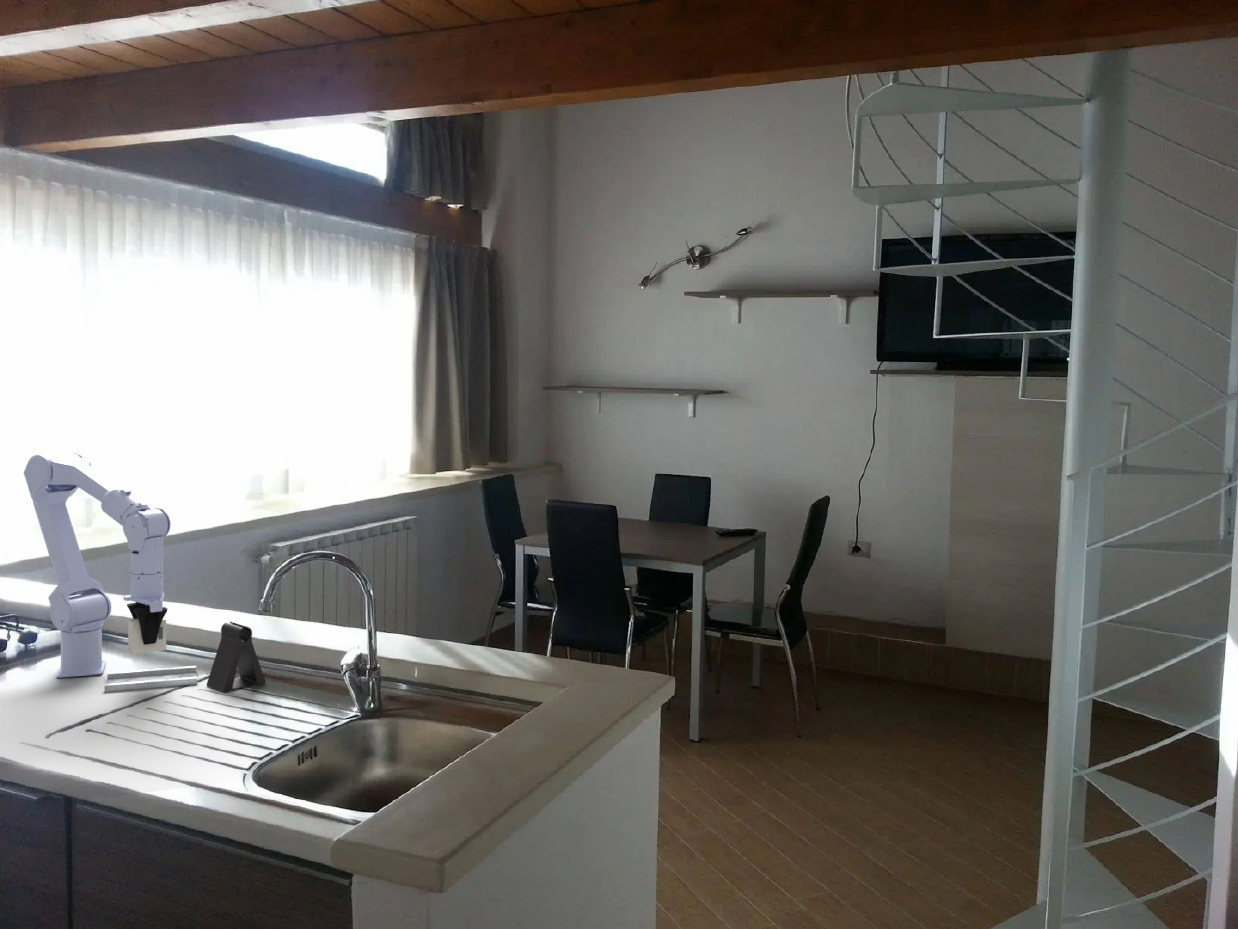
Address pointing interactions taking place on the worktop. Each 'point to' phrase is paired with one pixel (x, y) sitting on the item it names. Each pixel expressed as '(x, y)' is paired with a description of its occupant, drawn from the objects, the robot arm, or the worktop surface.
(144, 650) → the door panel
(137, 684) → the rail
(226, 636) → the dark grey hinged stand
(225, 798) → the worktop surface
